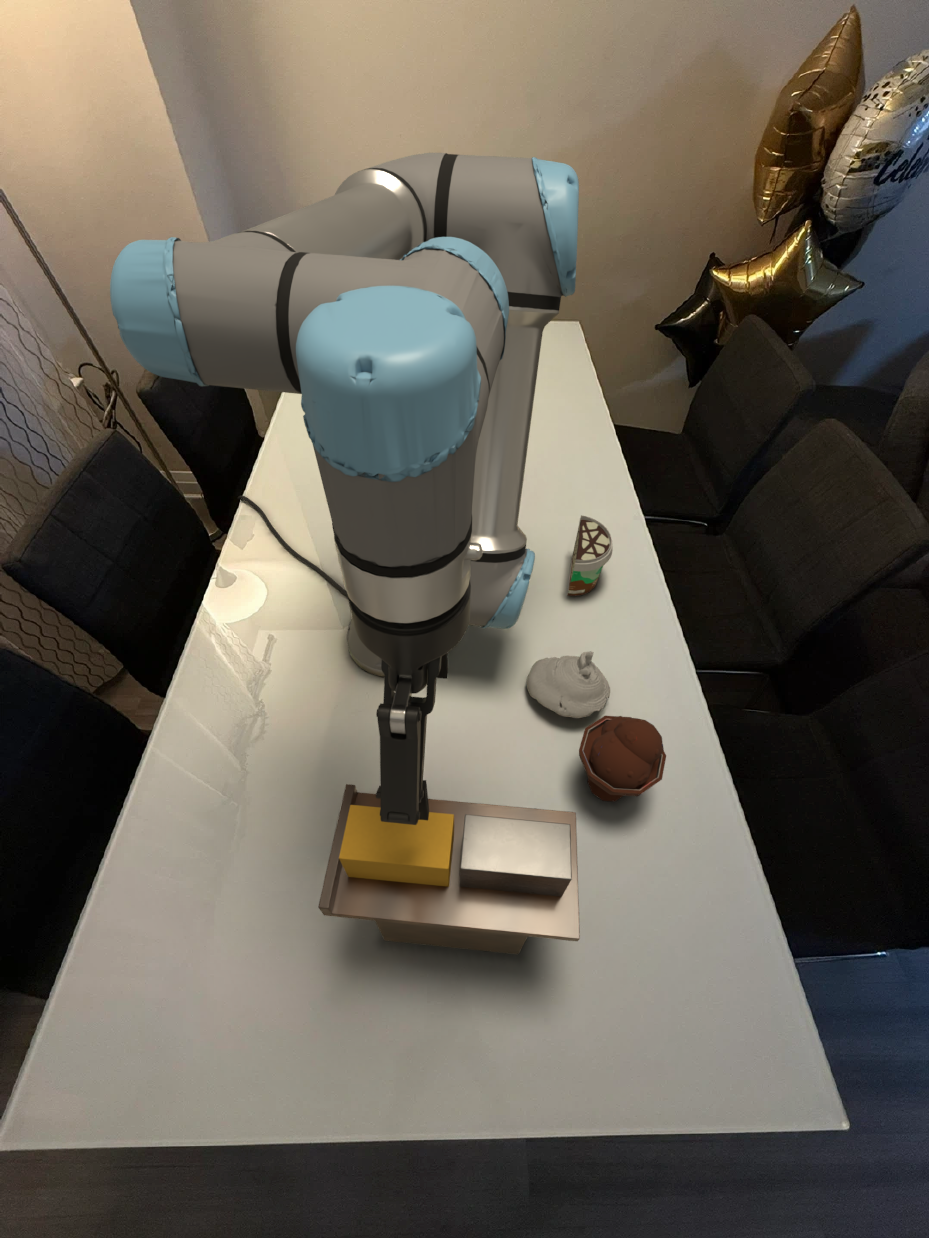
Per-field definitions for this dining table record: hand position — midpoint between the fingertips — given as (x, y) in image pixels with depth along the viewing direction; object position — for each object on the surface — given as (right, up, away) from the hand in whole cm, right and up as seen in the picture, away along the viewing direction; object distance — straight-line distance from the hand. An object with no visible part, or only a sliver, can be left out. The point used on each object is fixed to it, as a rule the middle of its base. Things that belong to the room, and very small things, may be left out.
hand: (423, 738), depth 52 cm
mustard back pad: (-3, -13, +7) cm, 15 cm away
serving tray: (+2, -24, +20) cm, 31 cm away
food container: (+26, +18, +54) cm, 63 cm away
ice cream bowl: (+24, -12, +30) cm, 40 cm away
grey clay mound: (+19, -1, +39) cm, 43 cm away
